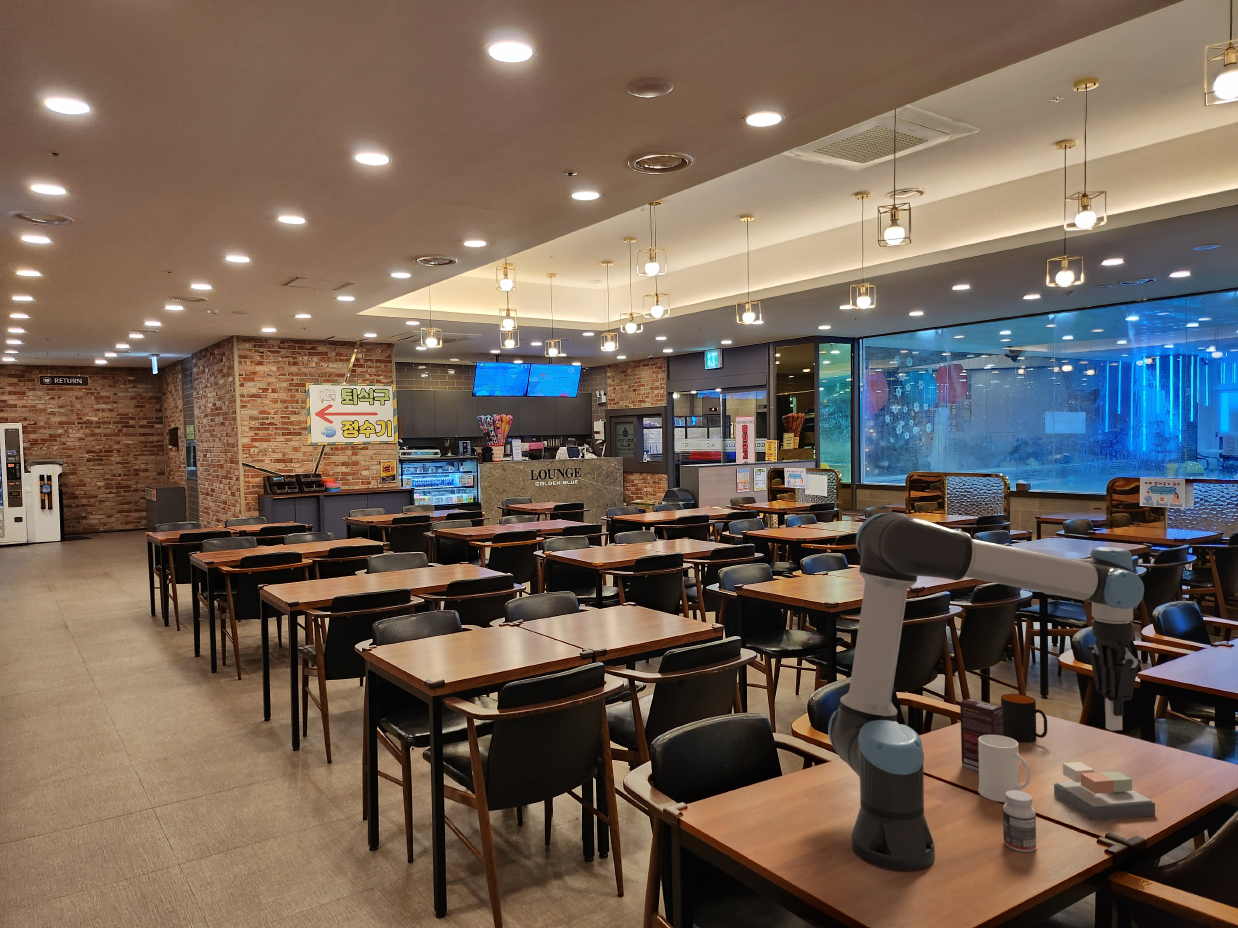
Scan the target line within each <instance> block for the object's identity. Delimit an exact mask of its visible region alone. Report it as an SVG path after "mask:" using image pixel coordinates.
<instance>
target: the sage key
mask: <svg viewBox="0 0 1238 928" xmlns="http://www.w3.org/2000/svg"><path fill="white" fill-rule="evenodd" d="M1099 773H1101V774H1103V775H1105V776H1107V777H1109V778H1110V779H1112V780H1114V792H1123V791H1132V790H1133V779H1132V778H1131V777H1129V776H1126V775H1125V774H1123V773H1122V772H1119V771H1116V770H1115V771H1104V772H1103V771H1101V772H1100V771H1099Z"/></svg>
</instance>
